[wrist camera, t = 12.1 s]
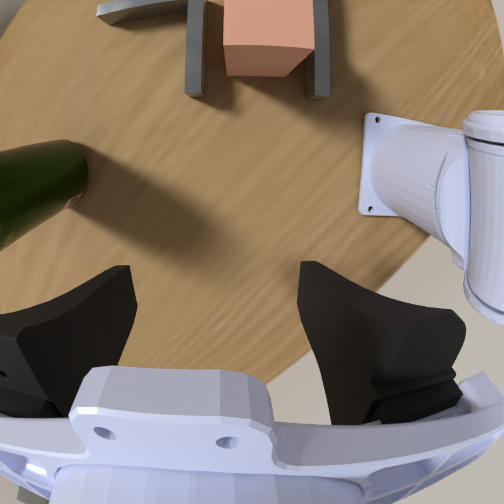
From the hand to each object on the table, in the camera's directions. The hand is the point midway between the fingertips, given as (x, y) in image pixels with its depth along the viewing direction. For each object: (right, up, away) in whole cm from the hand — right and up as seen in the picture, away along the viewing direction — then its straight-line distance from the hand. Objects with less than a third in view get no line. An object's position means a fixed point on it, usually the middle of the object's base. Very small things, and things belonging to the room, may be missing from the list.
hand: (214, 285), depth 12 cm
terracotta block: (+2, +15, +5) cm, 16 cm away
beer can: (-13, +8, +7) cm, 17 cm away
